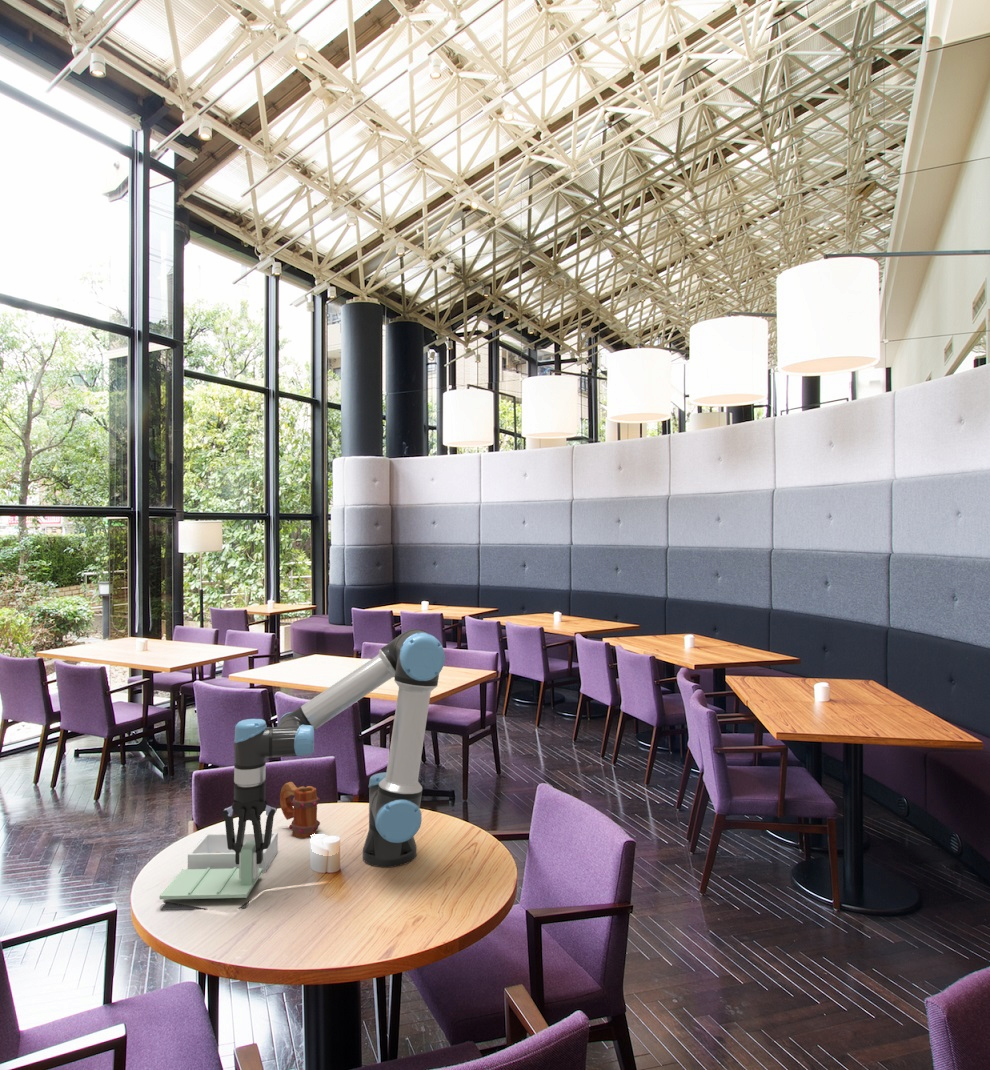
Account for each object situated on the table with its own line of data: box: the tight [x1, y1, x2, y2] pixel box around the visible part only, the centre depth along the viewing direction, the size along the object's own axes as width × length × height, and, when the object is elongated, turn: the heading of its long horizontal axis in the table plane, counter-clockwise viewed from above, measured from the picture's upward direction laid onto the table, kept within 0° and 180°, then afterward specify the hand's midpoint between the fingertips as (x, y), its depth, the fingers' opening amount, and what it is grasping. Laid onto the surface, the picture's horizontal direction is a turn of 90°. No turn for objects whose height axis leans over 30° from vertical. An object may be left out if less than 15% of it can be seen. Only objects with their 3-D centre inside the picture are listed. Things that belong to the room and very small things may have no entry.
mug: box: [279, 781, 321, 839], centre depth 222 cm, size 15×8×15 cm, turn 58°
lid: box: [159, 841, 263, 900], centre depth 184 cm, size 21×15×10 cm
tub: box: [187, 832, 279, 874], centre depth 201 cm, size 20×14×6 cm
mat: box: [160, 899, 251, 911], centre depth 184 cm, size 20×15×1 cm
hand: (249, 876), depth 184 cm, fingers closed on lid, 3 cm apart
